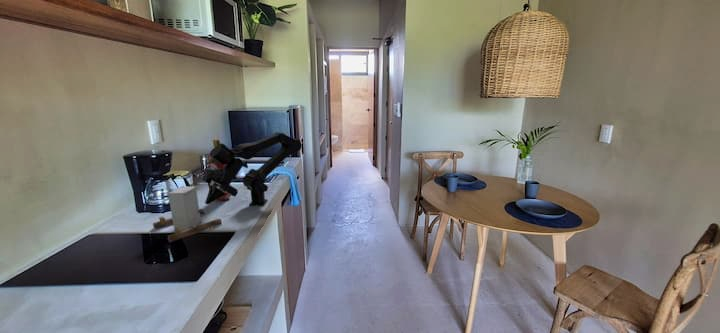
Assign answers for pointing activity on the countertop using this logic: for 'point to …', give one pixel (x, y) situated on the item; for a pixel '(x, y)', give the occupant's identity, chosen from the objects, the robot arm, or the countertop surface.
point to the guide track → (187, 232)
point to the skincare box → (184, 208)
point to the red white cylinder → (217, 165)
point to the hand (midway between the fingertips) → (206, 203)
